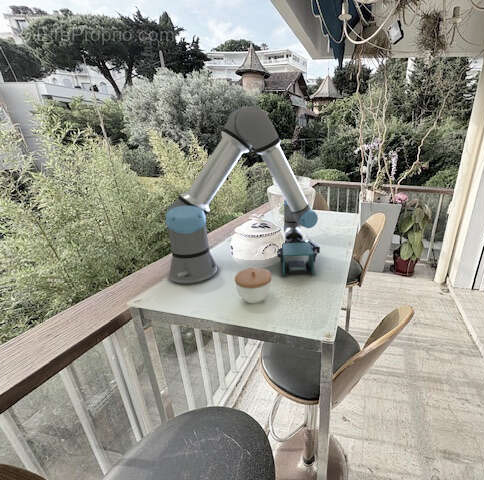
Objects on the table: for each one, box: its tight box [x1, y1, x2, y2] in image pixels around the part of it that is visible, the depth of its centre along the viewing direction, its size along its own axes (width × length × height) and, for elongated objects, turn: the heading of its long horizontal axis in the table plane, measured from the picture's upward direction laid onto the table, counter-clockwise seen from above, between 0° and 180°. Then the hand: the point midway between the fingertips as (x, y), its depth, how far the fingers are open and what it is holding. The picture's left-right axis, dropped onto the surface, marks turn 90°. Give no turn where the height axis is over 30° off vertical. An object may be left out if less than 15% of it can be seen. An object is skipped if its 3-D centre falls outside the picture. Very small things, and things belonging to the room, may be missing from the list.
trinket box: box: [234, 267, 273, 304], centre depth 80 cm, size 11×11×9 cm
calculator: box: [287, 260, 308, 275], centre depth 101 cm, size 8×6×2 cm
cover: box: [281, 243, 315, 277], centre depth 100 cm, size 11×11×8 cm
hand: (298, 259), depth 95 cm, fingers closed on cover, 11 cm apart
